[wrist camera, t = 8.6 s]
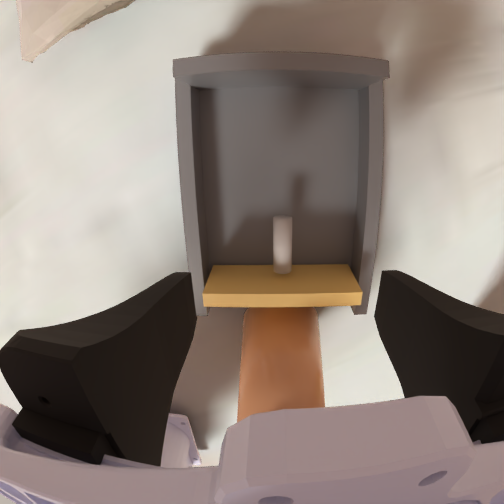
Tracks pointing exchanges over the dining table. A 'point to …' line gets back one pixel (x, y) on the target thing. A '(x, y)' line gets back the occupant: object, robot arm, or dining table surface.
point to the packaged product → (57, 20)
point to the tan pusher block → (281, 280)
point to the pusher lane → (280, 159)
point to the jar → (280, 360)
